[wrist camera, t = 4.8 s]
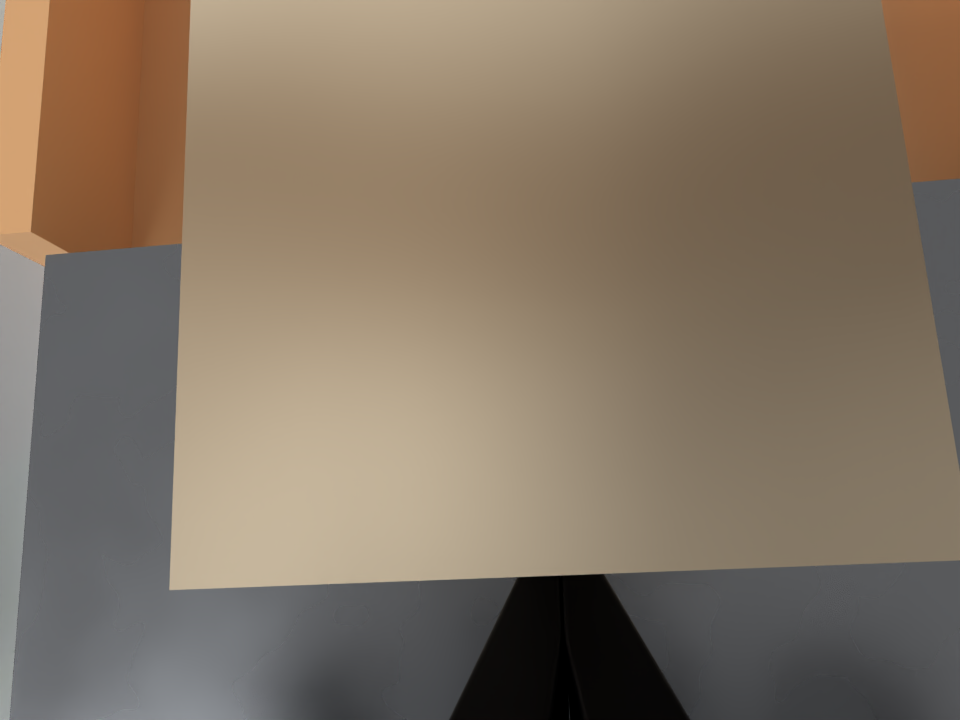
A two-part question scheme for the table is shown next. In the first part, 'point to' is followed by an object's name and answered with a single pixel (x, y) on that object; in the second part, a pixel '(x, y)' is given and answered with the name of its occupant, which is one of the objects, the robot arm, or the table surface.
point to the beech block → (550, 294)
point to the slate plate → (405, 604)
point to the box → (163, 111)
